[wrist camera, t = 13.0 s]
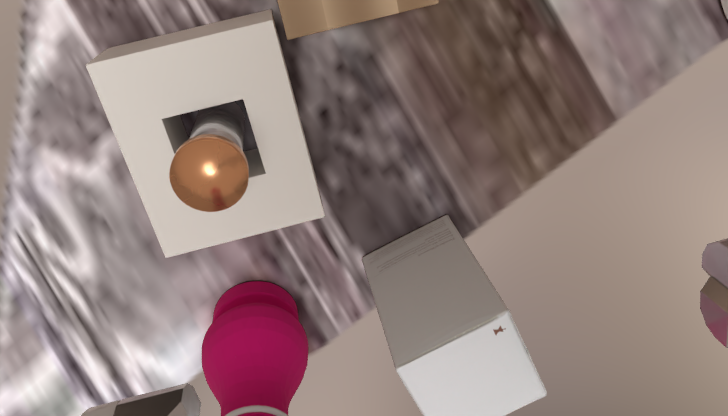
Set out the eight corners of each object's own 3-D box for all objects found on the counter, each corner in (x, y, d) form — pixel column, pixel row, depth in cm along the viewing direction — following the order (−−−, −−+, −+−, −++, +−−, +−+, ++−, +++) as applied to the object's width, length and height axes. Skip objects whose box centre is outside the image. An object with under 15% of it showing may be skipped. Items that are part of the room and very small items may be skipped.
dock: (271, 9, 36) (272, 19, 32) (318, 186, 42) (324, 216, 37) (107, 48, 36) (85, 64, 31) (176, 222, 41) (165, 258, 37)
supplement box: (358, 256, 44) (391, 367, 33) (448, 211, 44) (513, 308, 33) (398, 326, 48) (441, 450, 36) (482, 285, 47) (552, 397, 36)
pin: (241, 84, 38) (235, 131, 29) (258, 140, 40) (257, 200, 31) (182, 99, 38) (157, 151, 29) (202, 154, 39) (185, 220, 30)
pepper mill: (307, 348, 47) (335, 605, 29) (213, 359, 46) (182, 631, 28) (301, 269, 44) (328, 501, 26) (200, 279, 43) (157, 526, 25)
